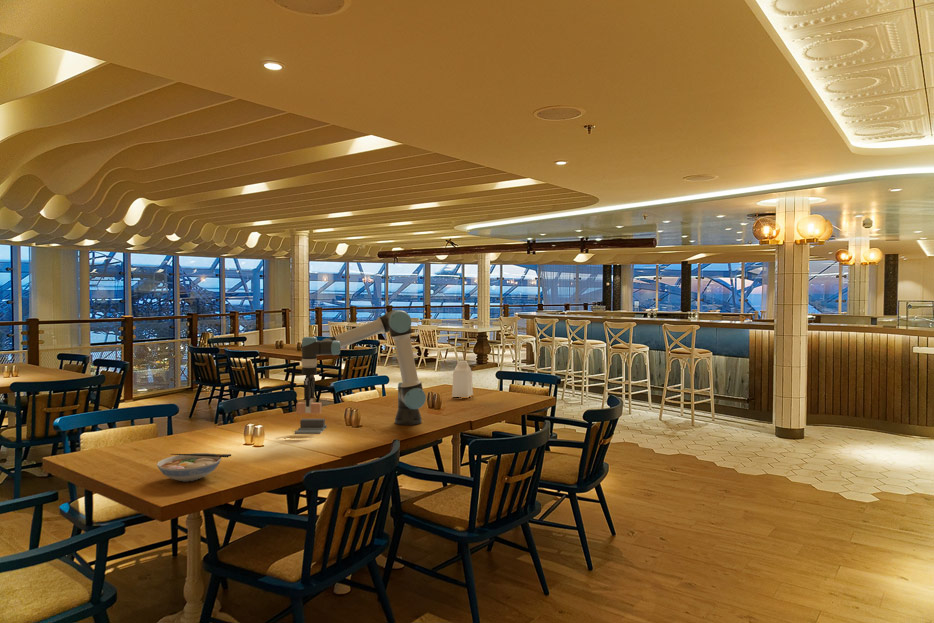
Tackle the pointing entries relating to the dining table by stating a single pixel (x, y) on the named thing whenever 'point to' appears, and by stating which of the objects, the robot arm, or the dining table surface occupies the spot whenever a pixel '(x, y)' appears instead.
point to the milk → (462, 380)
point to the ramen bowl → (189, 465)
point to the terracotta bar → (315, 408)
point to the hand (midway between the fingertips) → (309, 411)
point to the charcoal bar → (312, 423)
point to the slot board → (310, 430)
